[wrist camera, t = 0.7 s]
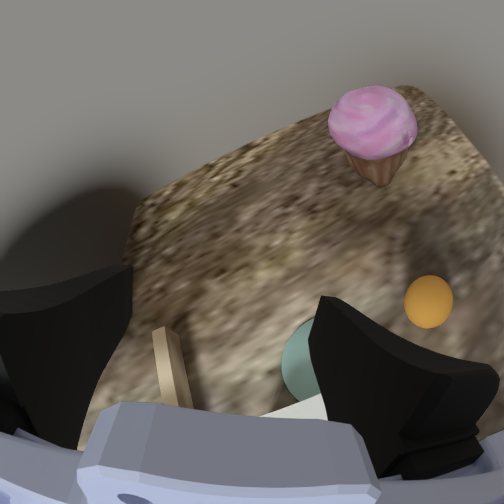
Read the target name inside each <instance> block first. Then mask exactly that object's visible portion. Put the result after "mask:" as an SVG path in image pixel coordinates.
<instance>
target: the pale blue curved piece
mask: <svg viewBox="0 0 504 504" xmlns="http://www.w3.org/2000/svg"><path fill="white" fill-rule="evenodd" d="M313 321H314V318H313V319H311V320H309V321H307V322H306V323H304V324H303V325H301V326H300V327H299V328H298V329H297V330H296V331H295V332H294V333H293V335H292V336H291V337H290V339H289V340H288V342H287V344H286V346H285V349H284V352H283V356H282V375H283V379H284V382H285V384H286V386H287V388H288V389H289V391H290V392H291V394H292V395H293V396H294V397H295V398H296V399H297V400H299V401H300V402H301V401H303V400H306V399H308V398H311V397H313V396H316V395H318V394H321V392H320V389H319V386H318V382H317V379H316V376H315V373H314V370H313V366H312V363H311V359H310V353H309V346H308V337H309V334H310V331H311V327H312V324H313Z"/></svg>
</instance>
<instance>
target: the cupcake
mask: <svg viewBox="0 0 504 504" xmlns="http://www.w3.org/2000/svg"><path fill="white" fill-rule="evenodd" d="M328 123H329V131H330V134H331V136H332V137H333V139H334V140H335V142H336V143H337V144H338V145H339V146H340V147H341V148H343V149H344V150H345V153H346V156H347V158H348V160H349V163H350V166H351V167H352V169H353V171H354V172H356V173H358V174H359V175H361V176H362V177H364V178H366V179H368V180H370V181H371V182H373V183H374V184H375V185H377V186H381V187H382V186H386V185H388V184H389V182H390V181H391V179H392V177H393V175H394V173H395V171H396V170H397V169H398V168H399V167H400V166H401V164H402V162H403V161H404V159H405V157H406V154H407V151H408V148H409V146H410V145H411V144H412V143H413V142H414V140H415V139H416V136H417V122H416V119H415V116H414V114H413V112H412V110H411V108H410V106H409V104H408V103H407V101H406V100H405V99H404V98H403V97H402V96H401V95H400V94H399V93H397V92H396V91H394V90H392V89H390V88H387V87H383V86H368V87H365V88H361V89H356V90H352V91H350V92H348V93H346V94H345V95H343V96H342V97H341V99H340V100H339V101H337V102H336V103H335V104H334V106H333V108H332V110H331V112H330V115H329V119H328Z"/></svg>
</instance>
